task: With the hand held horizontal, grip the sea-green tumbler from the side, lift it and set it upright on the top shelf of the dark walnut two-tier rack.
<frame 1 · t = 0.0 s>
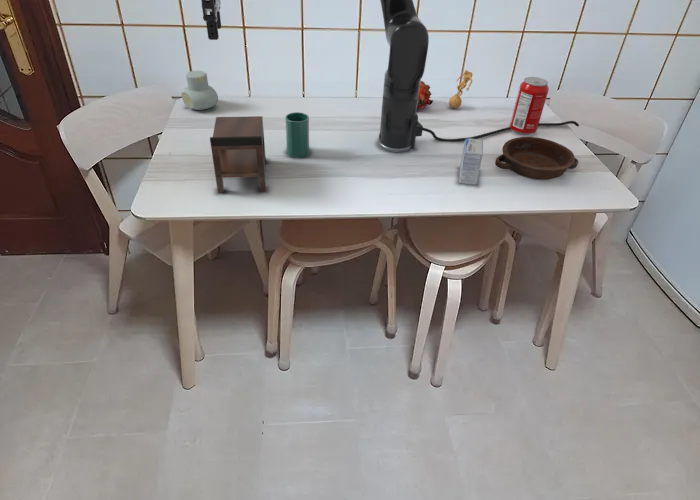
hand: (215, 33, 114), 29 cm above the table, tool pointing down, fingers open, 8 cm apart
air freshener: (201, 107, 153), on the table
dish: (533, 169, 131), on the table
medicine box: (467, 177, 127), on the table
tumbler: (298, 152, 133), on the table
figurine: (456, 108, 160), on the table
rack: (243, 175, 123), on the table
dragon fruit: (416, 107, 159), on the table
soda can: (522, 131, 149), on the table
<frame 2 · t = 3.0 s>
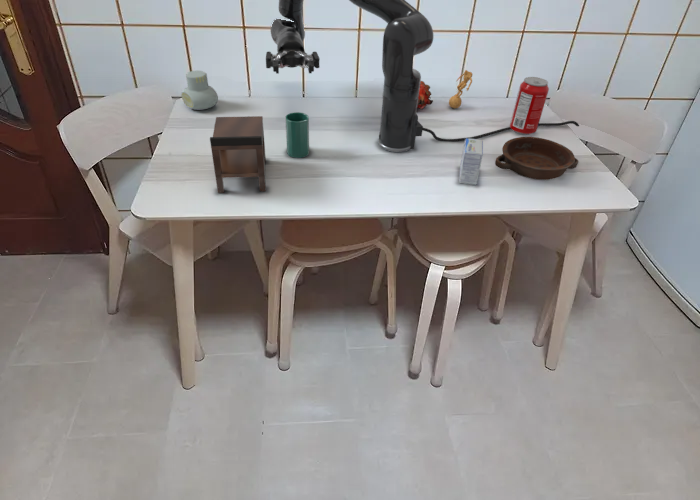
hand: (294, 69, 130), 18 cm above the table, tool horizontal, fingers open, 8 cm apart
nothing on the table moved.
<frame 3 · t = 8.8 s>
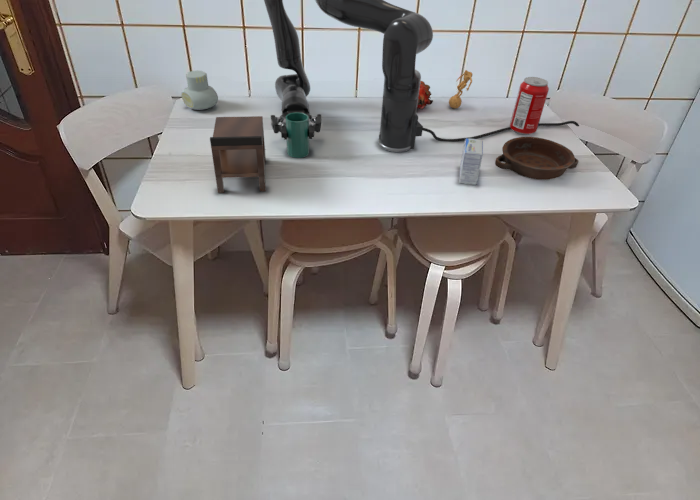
hand: (298, 136, 127), 6 cm above the table, tool horizontal, fingers closed on tumbler, 6 cm apart
tumbler: (298, 152, 133), on the table, touching gripper
everything else where it was.
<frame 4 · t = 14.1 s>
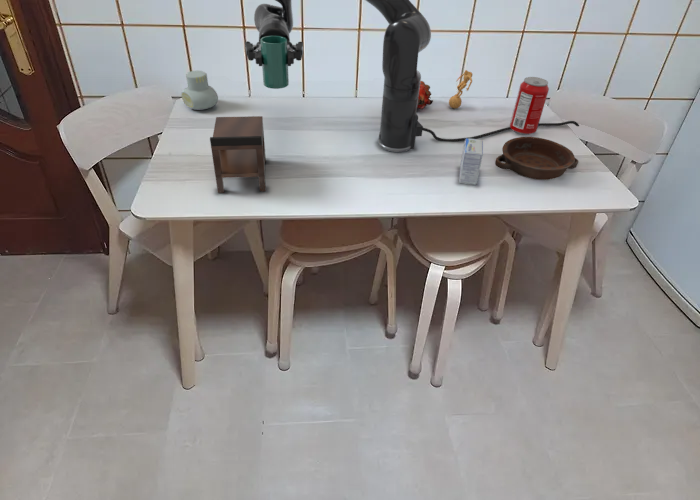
hand: (274, 61, 111), 26 cm above the table, tool horizontal, fingers closed on tumbler, 6 cm apart
tumbler: (276, 84, 117), point 20 cm above the table, touching gripper
everything else where it was.
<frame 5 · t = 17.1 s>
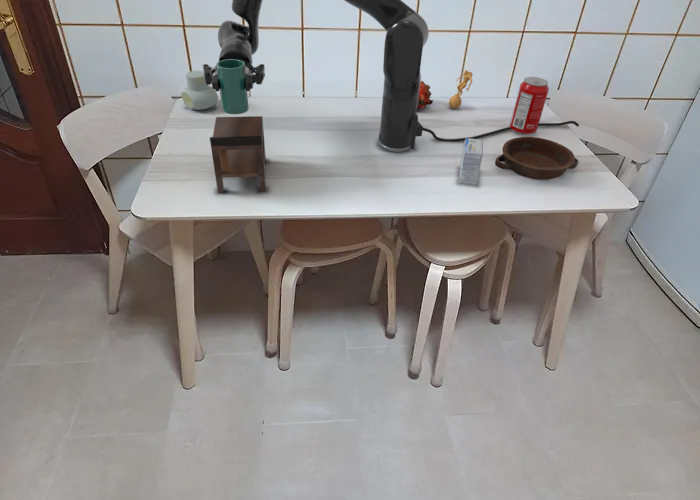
hand: (232, 86, 106), 23 cm above the table, tool horizontal, fingers closed on tumbler, 6 cm apart
tumbler: (235, 108, 112), point 17 cm above the table, touching gripper
everything else where it was.
when the fingers open (18 cm above the table, at t = 19.4 s): tumbler stays where it is, resting on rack.
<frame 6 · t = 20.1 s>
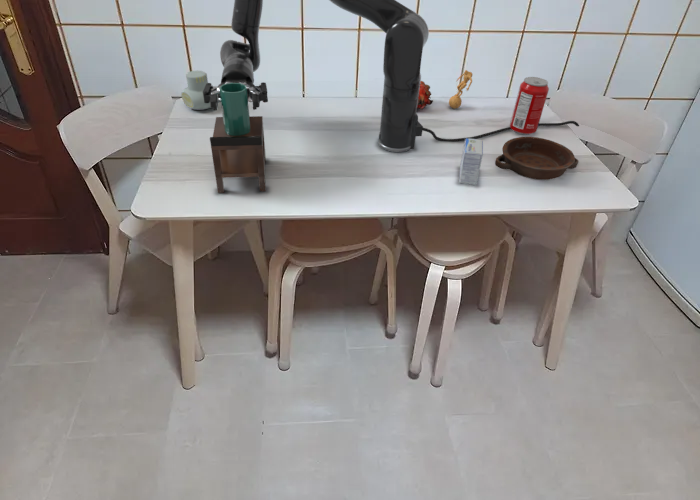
hand: (234, 105, 109), 19 cm above the table, tool horizontal, fingers open, 8 cm apart
tumbler: (237, 130, 115), point 12 cm above the table, touching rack
everything else where it was.
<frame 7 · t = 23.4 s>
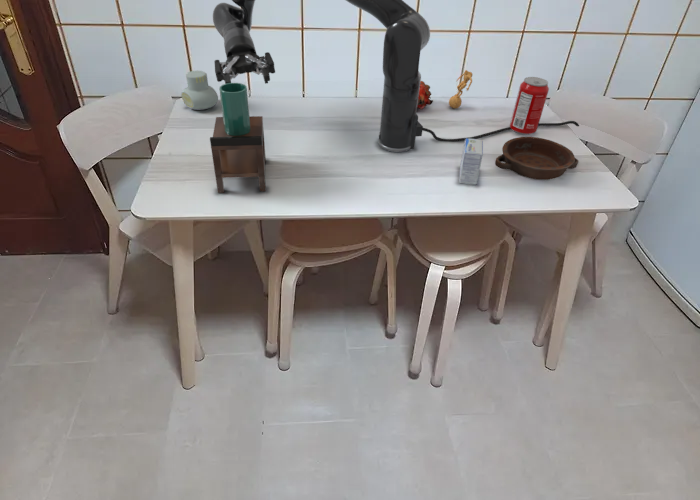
hand: (248, 82, 119), 19 cm above the table, tool horizontal, fingers open, 8 cm apart
nothing on the table moved.
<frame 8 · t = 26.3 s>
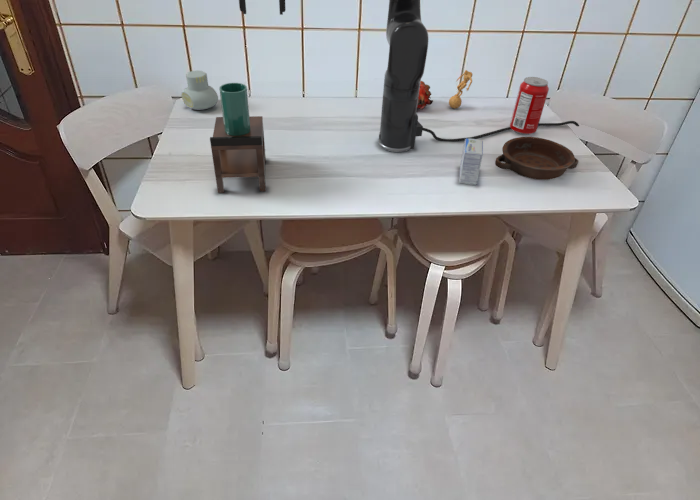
hand: (263, 13, 119), 32 cm above the table, tool pointing down, fingers open, 8 cm apart
nothing on the table moved.
at the end: tumbler inside the target area on the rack (0.1 cm from its centre), point 12.0 cm above the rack's base; tumbler tilted 0°; the gripper is holding nothing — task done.
